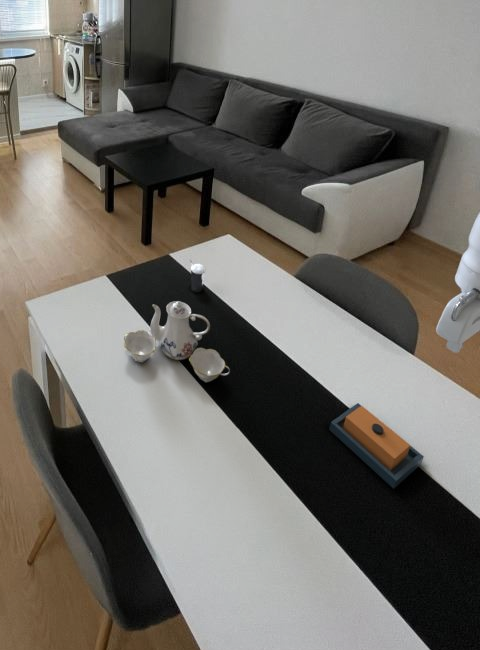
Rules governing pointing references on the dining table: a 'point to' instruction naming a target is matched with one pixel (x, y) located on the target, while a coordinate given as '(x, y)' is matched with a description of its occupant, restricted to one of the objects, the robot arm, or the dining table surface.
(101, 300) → the dining table surface
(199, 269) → the milkshake
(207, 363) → the chinaware
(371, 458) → the dark blue rectangular tray
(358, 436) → the orange rectangular block
